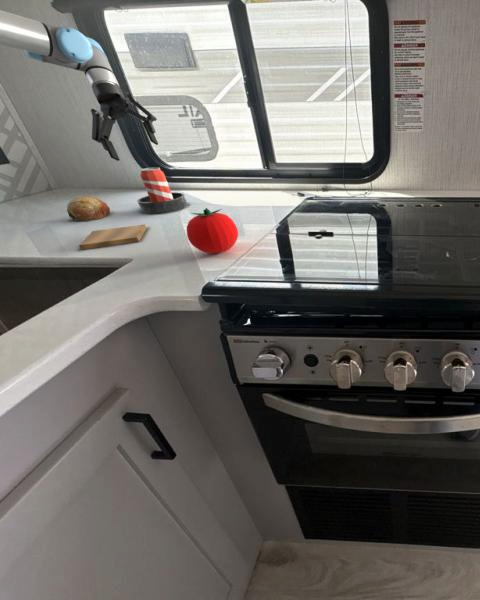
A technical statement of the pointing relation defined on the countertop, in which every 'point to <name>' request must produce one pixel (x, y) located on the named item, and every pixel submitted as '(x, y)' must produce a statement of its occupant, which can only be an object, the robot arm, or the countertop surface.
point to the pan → (163, 204)
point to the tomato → (212, 232)
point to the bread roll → (87, 208)
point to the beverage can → (156, 184)
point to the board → (113, 236)
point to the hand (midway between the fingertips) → (135, 150)
